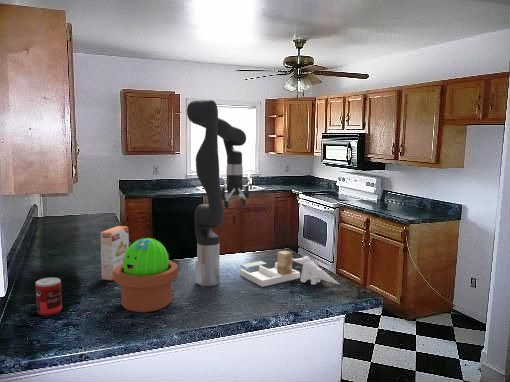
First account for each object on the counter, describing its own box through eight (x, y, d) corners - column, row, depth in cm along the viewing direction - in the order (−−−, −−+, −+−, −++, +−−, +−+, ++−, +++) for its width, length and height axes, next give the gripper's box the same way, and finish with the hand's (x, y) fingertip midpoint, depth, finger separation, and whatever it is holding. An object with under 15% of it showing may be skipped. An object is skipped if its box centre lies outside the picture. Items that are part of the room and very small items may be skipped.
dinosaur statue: (293, 274, 183) (296, 250, 181) (342, 292, 169) (346, 266, 167) (285, 278, 178) (287, 253, 176) (334, 297, 164) (338, 270, 162)
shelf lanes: (262, 289, 167) (262, 280, 167) (239, 277, 181) (240, 269, 181) (299, 280, 178) (300, 272, 178) (276, 269, 192) (276, 262, 192)
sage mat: (254, 272, 188) (254, 271, 188) (240, 265, 198) (240, 264, 198) (275, 268, 195) (275, 267, 195) (261, 261, 204) (261, 260, 204)
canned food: (42, 307, 147) (40, 277, 146) (65, 306, 148) (64, 277, 147) (32, 316, 140) (31, 285, 138) (57, 315, 140) (55, 284, 139)
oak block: (283, 279, 176) (284, 254, 175) (277, 276, 180) (277, 251, 178) (291, 277, 179) (292, 252, 177) (285, 274, 182) (285, 250, 181)
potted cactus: (147, 288, 167) (145, 227, 164) (189, 299, 156) (188, 234, 153) (102, 306, 148) (99, 238, 145) (147, 321, 137) (145, 247, 134)
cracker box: (114, 281, 174) (112, 232, 172) (101, 280, 176) (99, 232, 173) (130, 270, 188) (129, 225, 185) (118, 269, 189) (116, 225, 187)
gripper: (224, 175, 186) (224, 210, 188) (251, 173, 193) (251, 207, 195) (217, 173, 192) (217, 207, 194) (243, 172, 199) (243, 205, 202)
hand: (234, 207), depth 195 cm, fingers open, 8 cm apart
